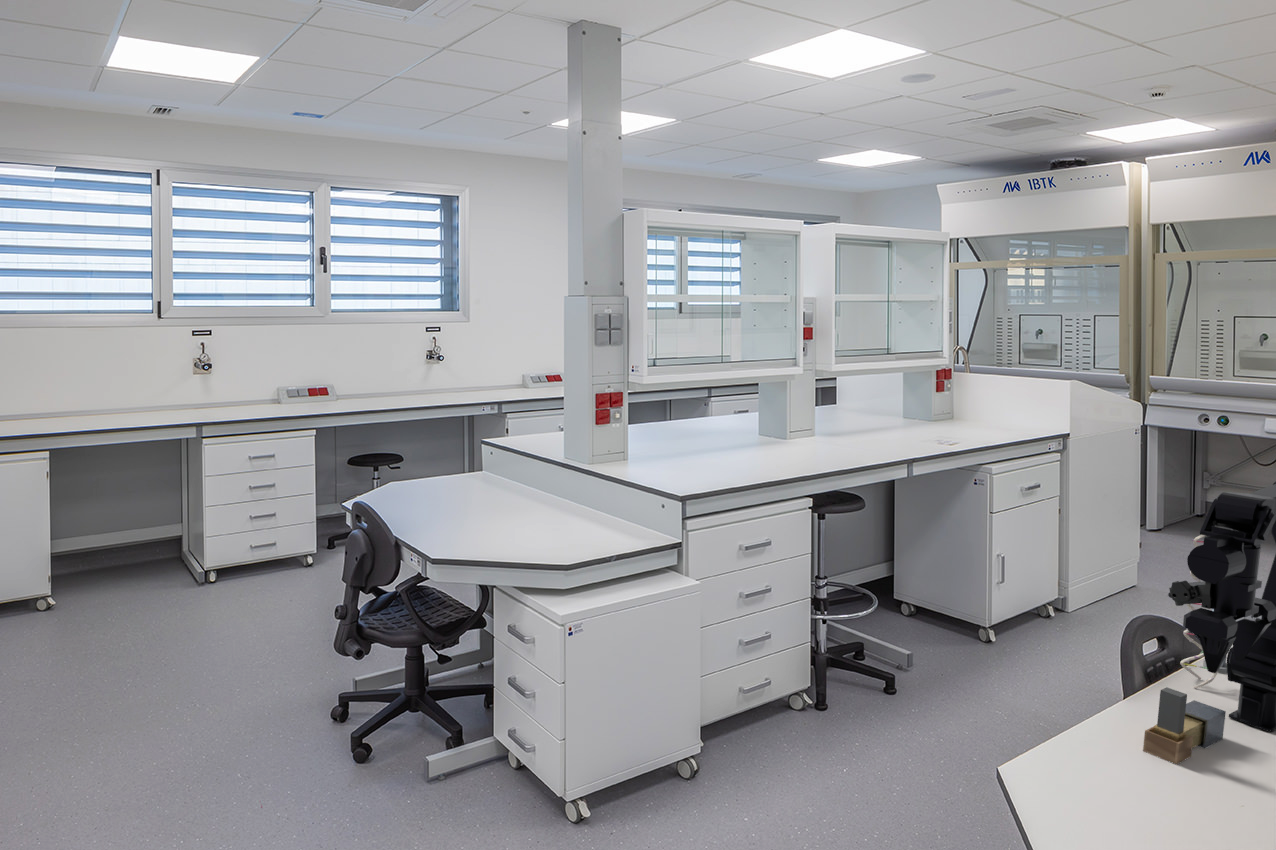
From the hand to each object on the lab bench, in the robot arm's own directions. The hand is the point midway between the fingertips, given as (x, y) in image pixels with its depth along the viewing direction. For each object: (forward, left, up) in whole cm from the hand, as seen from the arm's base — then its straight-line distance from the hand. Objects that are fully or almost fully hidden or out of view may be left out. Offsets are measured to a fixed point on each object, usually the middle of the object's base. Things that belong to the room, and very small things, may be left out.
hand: (1225, 666), depth 138 cm
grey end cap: (+1, -3, -13) cm, 13 cm away
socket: (+11, -3, -13) cm, 17 cm away
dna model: (-23, -13, -13) cm, 30 cm away
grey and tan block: (+8, -3, -12) cm, 15 cm away
